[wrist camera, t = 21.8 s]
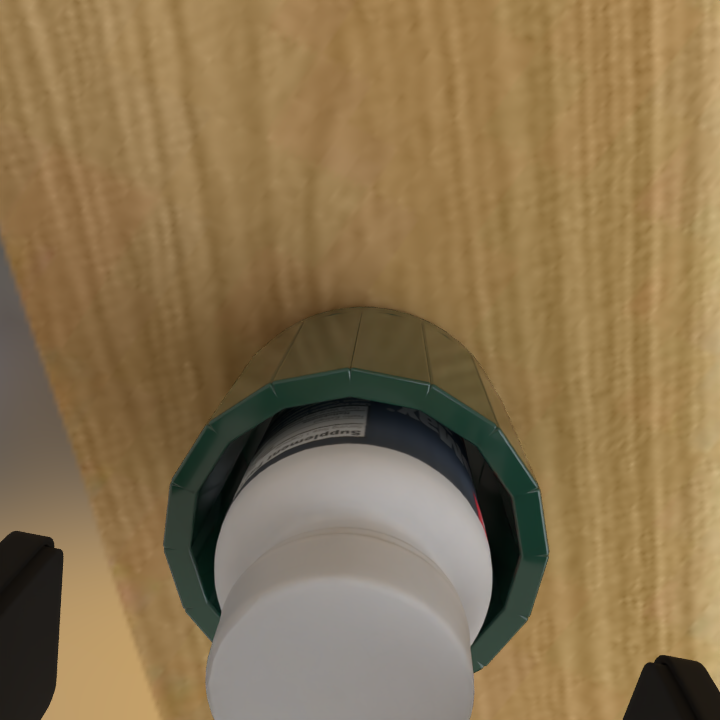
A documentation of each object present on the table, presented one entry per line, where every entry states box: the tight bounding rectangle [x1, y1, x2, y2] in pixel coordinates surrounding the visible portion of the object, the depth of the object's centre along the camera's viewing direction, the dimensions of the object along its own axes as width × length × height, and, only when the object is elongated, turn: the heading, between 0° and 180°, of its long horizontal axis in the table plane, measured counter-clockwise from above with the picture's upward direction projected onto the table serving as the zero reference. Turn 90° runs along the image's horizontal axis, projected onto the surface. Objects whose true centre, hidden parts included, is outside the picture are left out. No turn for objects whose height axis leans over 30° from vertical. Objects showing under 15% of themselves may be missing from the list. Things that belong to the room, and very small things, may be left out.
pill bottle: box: [206, 397, 492, 720], centre depth 14 cm, size 5×5×9 cm
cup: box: [163, 307, 549, 673], centre depth 16 cm, size 8×8×6 cm
